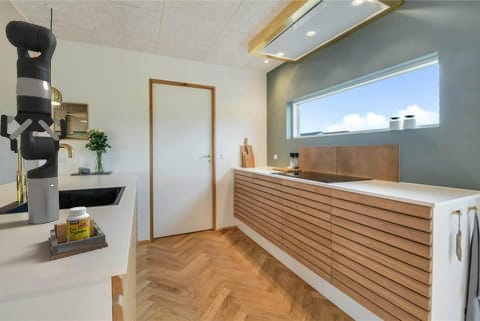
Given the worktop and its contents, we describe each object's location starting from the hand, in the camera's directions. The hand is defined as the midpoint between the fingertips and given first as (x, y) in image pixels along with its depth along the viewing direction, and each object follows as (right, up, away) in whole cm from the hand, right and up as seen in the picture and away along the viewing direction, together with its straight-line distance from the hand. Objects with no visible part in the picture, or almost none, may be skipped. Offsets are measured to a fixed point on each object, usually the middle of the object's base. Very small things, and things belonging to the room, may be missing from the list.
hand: (36, 152), depth 67 cm
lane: (+11, -27, +2) cm, 29 cm away
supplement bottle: (+12, -27, +1) cm, 29 cm away
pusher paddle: (+9, -26, +4) cm, 28 cm away
